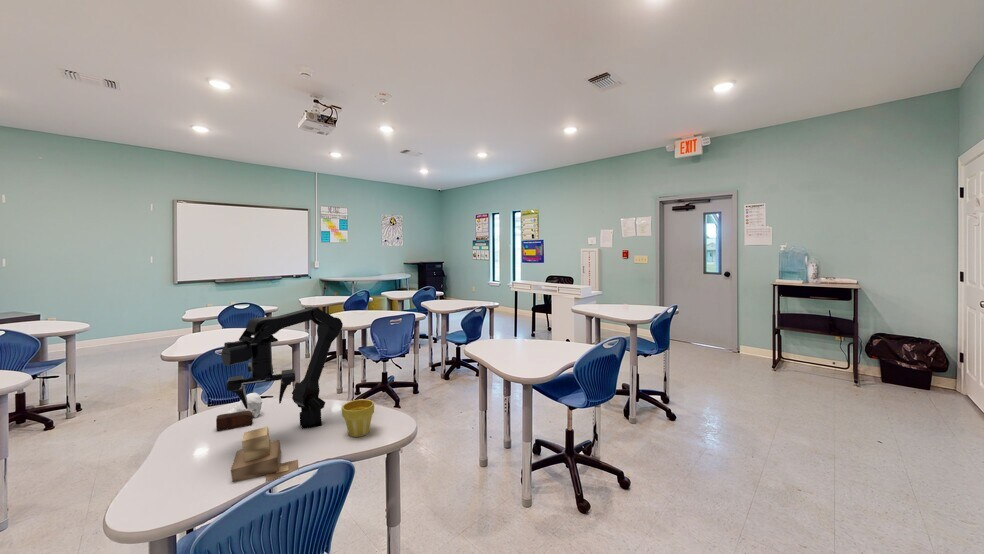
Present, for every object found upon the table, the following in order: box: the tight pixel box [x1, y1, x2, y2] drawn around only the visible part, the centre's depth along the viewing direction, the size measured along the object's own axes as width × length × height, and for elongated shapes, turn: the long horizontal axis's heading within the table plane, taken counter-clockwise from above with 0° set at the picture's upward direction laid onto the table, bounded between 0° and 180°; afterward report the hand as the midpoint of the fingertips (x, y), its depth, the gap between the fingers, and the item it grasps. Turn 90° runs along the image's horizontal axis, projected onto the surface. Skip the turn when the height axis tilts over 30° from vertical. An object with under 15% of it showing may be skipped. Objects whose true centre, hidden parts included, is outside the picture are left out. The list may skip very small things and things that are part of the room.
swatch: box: [265, 459, 299, 482], centre depth 112 cm, size 8×8×1 cm
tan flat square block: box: [230, 439, 282, 483], centre depth 114 cm, size 11×11×4 cm
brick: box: [215, 410, 253, 432], centre depth 141 cm, size 11×4×5 cm, turn 120°
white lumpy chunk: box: [225, 392, 263, 419], centre depth 147 cm, size 6×8×12 cm
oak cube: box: [241, 426, 271, 462], centre depth 113 cm, size 6×6×6 cm
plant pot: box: [341, 398, 375, 438], centre depth 136 cm, size 10×10×10 cm
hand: (263, 405), depth 128 cm, fingers open, 9 cm apart
